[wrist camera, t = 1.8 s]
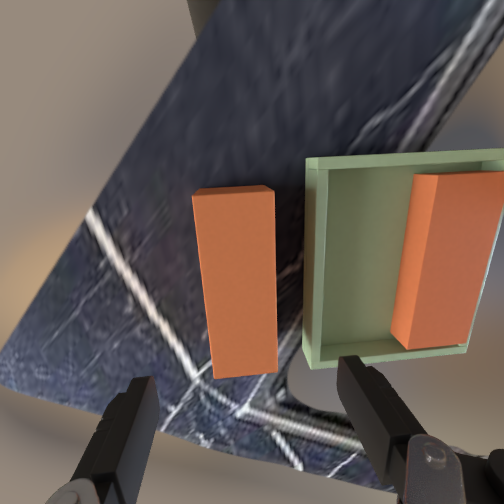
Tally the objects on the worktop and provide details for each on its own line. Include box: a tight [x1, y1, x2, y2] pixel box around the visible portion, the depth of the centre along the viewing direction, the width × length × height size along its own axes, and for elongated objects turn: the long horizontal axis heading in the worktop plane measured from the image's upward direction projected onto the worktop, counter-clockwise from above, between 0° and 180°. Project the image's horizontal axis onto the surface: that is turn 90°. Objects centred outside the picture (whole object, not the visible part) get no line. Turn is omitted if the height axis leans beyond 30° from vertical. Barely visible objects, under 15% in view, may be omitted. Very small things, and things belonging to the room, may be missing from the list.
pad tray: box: [302, 148, 504, 370], centre depth 22 cm, size 18×15×3 cm
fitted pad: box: [390, 170, 504, 350], centre depth 21 cm, size 14×6×2 cm, turn 3°
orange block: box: [192, 185, 278, 379], centre depth 20 cm, size 14×5×4 cm, turn 3°
